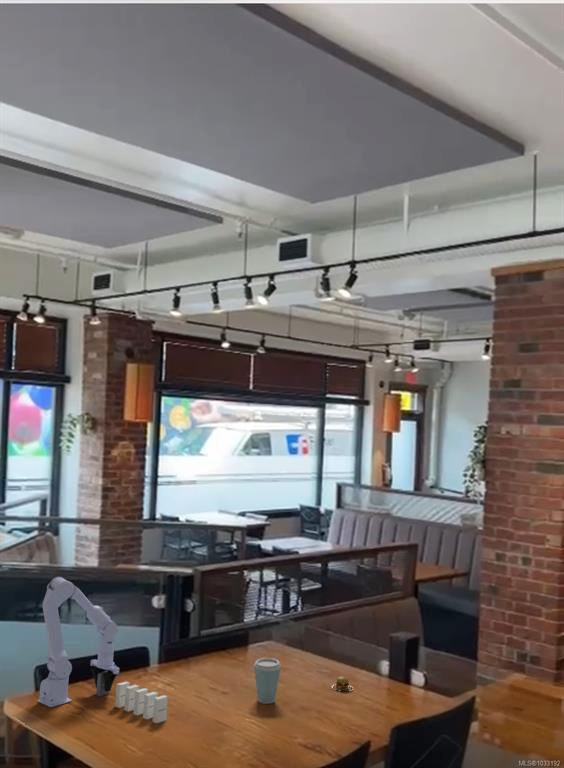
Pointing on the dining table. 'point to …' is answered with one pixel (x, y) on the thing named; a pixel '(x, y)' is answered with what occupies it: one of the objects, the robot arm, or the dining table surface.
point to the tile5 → (149, 705)
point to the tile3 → (130, 697)
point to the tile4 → (139, 701)
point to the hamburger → (342, 683)
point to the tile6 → (160, 709)
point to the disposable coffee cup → (267, 679)
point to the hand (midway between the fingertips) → (103, 688)
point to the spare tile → (101, 685)
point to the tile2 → (121, 694)
